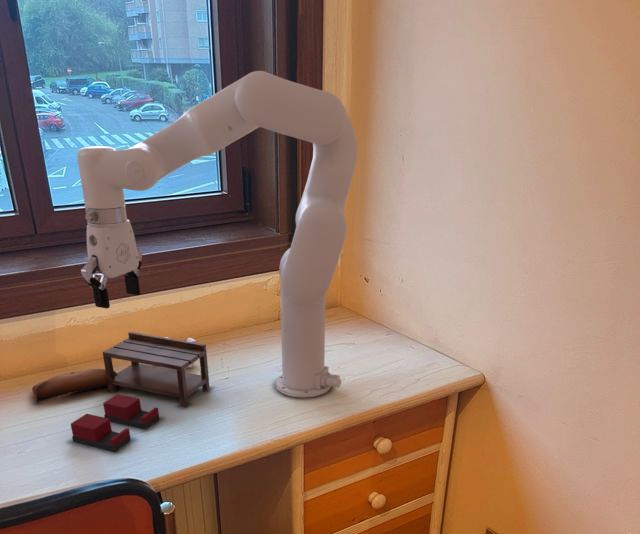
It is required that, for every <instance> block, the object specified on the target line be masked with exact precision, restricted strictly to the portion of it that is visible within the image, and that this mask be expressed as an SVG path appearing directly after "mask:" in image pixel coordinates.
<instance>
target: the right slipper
mask: <svg viewBox="0 0 640 534" xmlns="http://www.w3.org/2000/svg"><path fill="white" fill-rule="evenodd" d="M102 404H103V410H104V411H103V412H104V416H103V417H104V418H108V419H110V423H115V424H120V425H124V426H128V427H132V428H137V429H142V430H147V429H148V428H150V427H151V426H152V425H154V424H155V423H156V422H158V421H159V420H160V413H159V408H158V407H153V408H152V409H150V410H149V411H147V410H142V405H141V404H142V403H141V399H140V398H139V397H135V396H129V395H125V394H120V393H116V394H114V395H113V396H111V397H110V398H109V399H107V400H105V401H104V402H102Z"/></svg>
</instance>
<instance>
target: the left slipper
mask: <svg viewBox="0 0 640 534" xmlns="http://www.w3.org/2000/svg"><path fill="white" fill-rule="evenodd" d="M70 428H71V433H72V436H71V438H72V442H73V443H76V444H80V445H85V446H88V447H92V448H97V449H101V450H105V451H109V452H114V453H116V452H118V451H119V450H120V449H122V448H123V447H124V446H126V445H127V444H128V443H129V442H131V439H132V438H131V433H130V429H129V428H126V427H125V428H124V429H123V430H122V431H120V432H117V431H114V430H113V429H112V422H111V421H110V419H108V418H105V417H104V416H99V415H95V414H92V413H91V414H90V413H85V414H83V415H82V416H81V417H78V418H77V419H76V420H74V421H73V422H70Z"/></svg>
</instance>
